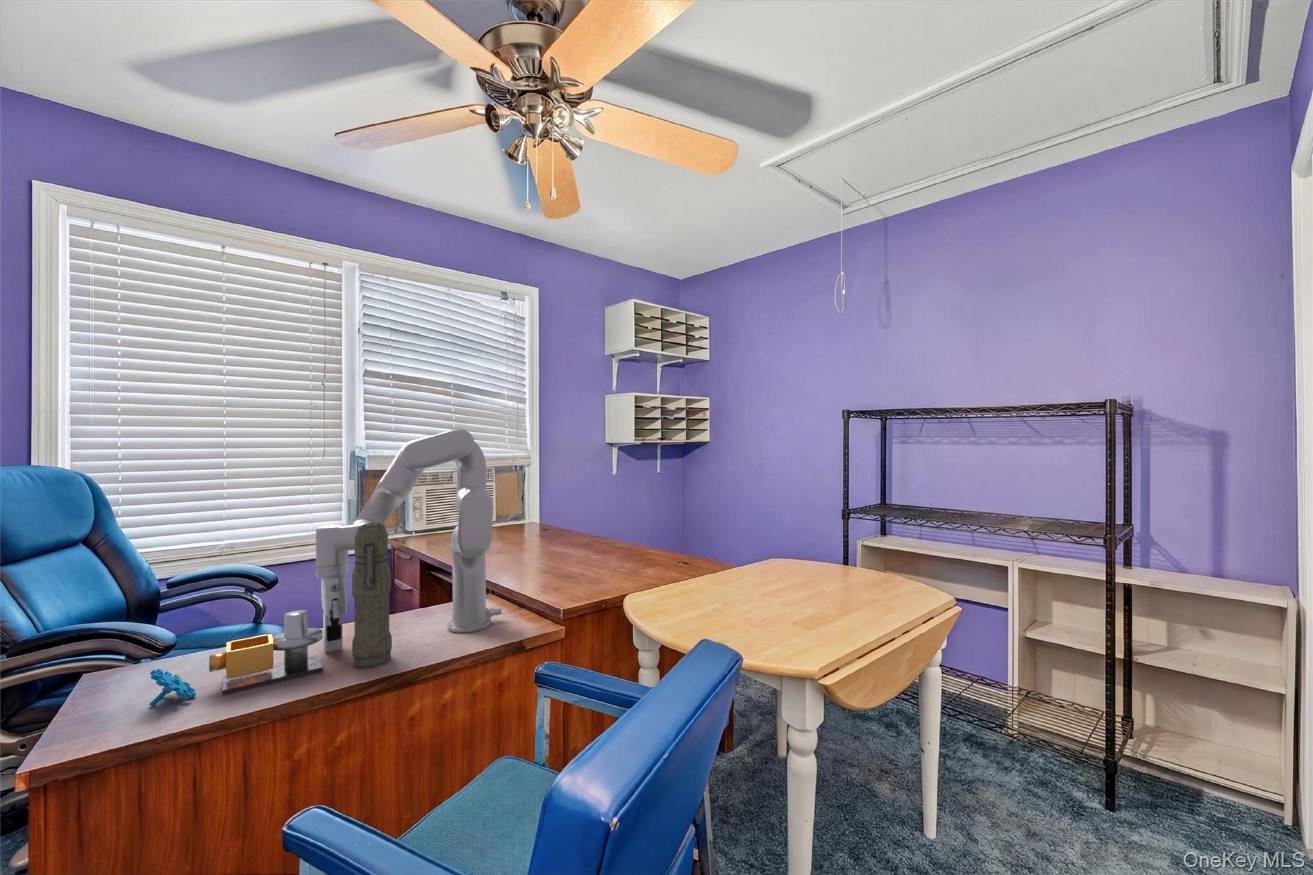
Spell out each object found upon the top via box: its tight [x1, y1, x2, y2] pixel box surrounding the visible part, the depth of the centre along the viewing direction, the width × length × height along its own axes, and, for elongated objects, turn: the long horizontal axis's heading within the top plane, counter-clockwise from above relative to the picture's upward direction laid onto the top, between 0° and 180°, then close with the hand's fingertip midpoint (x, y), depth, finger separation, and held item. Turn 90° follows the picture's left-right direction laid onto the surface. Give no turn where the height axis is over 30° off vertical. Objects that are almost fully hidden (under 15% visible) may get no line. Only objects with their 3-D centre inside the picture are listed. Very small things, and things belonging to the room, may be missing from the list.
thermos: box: [351, 523, 393, 669], centre depth 135 cm, size 9×12×35 cm
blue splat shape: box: [148, 668, 197, 708], centre depth 115 cm, size 11×6×10 cm
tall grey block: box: [322, 609, 344, 654], centre depth 144 cm, size 4×4×10 cm
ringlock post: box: [208, 609, 324, 696], centre depth 127 cm, size 22×11×14 cm, turn 128°
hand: (332, 636), depth 144 cm, fingers closed on tall grey block, 3 cm apart
